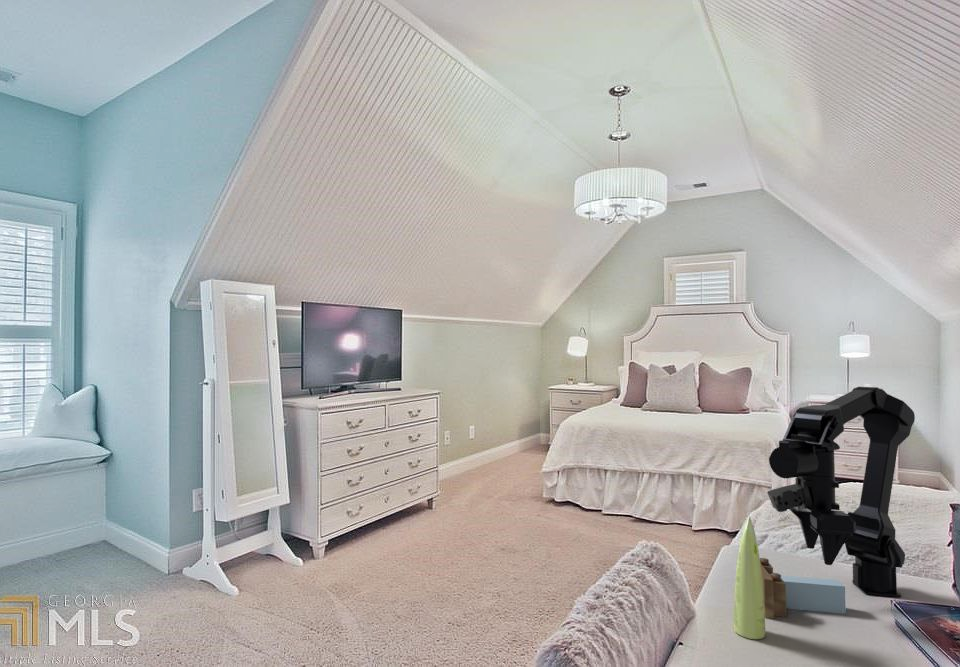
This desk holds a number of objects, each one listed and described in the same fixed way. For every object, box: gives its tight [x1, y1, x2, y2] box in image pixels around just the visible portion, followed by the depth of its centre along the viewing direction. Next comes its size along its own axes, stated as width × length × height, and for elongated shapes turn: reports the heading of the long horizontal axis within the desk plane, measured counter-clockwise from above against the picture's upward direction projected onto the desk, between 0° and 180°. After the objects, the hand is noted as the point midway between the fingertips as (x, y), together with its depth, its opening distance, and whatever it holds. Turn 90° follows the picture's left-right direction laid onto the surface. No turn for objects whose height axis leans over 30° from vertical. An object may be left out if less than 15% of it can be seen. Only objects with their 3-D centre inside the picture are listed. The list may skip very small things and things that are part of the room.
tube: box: [733, 513, 766, 640], centre depth 96 cm, size 6×5×20 cm
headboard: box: [759, 557, 787, 620], centre depth 108 cm, size 4×14×7 cm, turn 167°
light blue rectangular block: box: [768, 573, 847, 615], centre depth 107 cm, size 13×3×5 cm, turn 77°
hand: (818, 556), depth 106 cm, fingers open, 9 cm apart
